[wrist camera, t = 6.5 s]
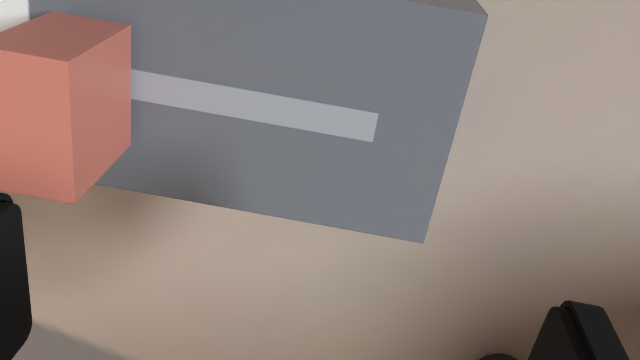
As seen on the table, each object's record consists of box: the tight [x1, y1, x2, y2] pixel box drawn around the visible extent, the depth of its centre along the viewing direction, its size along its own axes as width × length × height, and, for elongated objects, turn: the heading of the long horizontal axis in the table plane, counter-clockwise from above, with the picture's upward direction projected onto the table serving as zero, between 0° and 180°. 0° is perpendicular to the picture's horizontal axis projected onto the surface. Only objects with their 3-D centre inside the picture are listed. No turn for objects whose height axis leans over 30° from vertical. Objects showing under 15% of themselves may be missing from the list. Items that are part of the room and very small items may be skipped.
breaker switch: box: [0, 11, 131, 204], centre depth 17 cm, size 2×4×4 cm, turn 171°
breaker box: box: [0, 0, 488, 243], centre depth 21 cm, size 16×8×4 cm, turn 81°
